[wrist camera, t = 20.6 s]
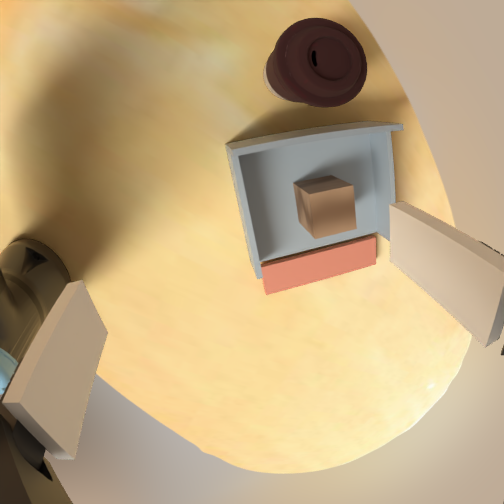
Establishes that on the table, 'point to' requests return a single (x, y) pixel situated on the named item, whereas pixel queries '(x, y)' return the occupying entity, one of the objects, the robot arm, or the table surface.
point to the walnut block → (325, 206)
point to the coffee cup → (316, 64)
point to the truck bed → (304, 168)
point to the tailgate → (318, 264)
